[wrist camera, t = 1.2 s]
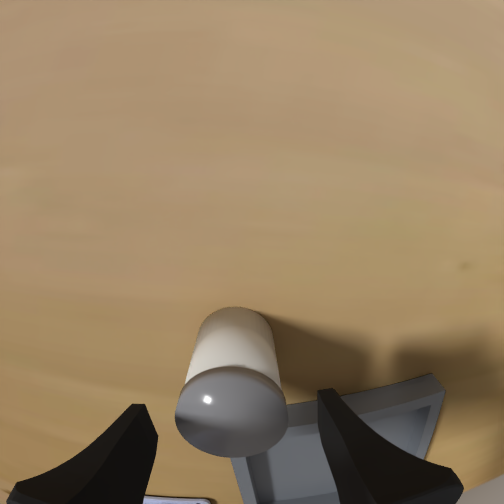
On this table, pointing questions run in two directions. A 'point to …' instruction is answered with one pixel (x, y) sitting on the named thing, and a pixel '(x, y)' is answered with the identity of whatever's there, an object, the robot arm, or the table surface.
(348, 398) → the tray
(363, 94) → the table surface
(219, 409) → the shaker
